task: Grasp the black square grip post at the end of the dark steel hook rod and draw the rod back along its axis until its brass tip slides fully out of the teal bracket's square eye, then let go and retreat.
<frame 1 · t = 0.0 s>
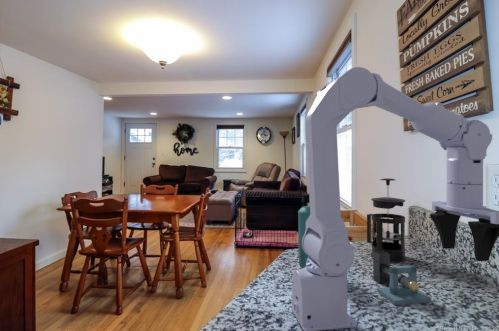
hand: (464, 253, 58), 10 cm above the worktop, tool pointing down, fingers open, 7 cm apart
eye bracket: (403, 296, 62), on the worktop
beverage bottle: (311, 272, 76), on the worktop
hook rod: (395, 275, 64), point 4 cm above the worktop, slide at 0.0 cm
french press: (386, 257, 88), on the worktop
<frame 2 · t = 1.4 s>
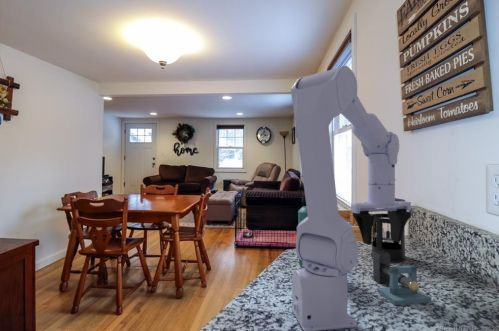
hand: (381, 242, 70), 9 cm above the worktop, tool pointing down, fingers open, 7 cm apart
nothing on the worktop moved.
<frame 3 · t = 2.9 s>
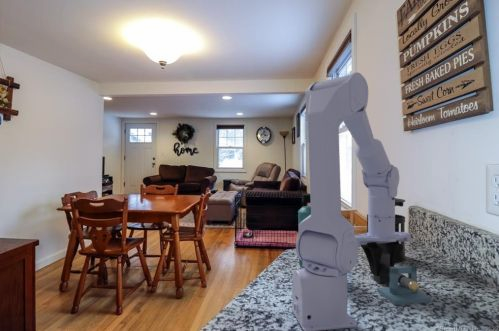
hand: (381, 273, 70), 2 cm above the worktop, tool pointing down, fingers closed on hook rod, 3 cm apart
hook rod: (395, 275, 64), point 4 cm above the worktop, slide at 0.0 cm, touching gripper
everything else where it was.
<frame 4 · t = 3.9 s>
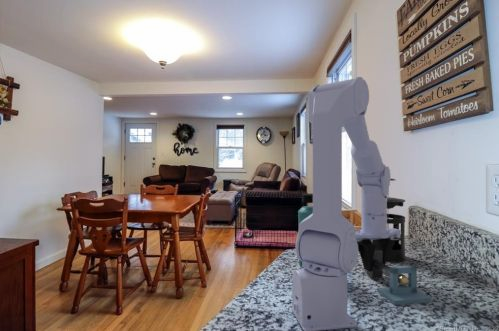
hand: (374, 269, 73), 2 cm above the worktop, tool pointing down, fingers closed on hook rod, 3 cm apart
hook rod: (387, 270, 67), point 3 cm above the worktop, slide at 2.9 cm, touching gripper
everything else where it was.
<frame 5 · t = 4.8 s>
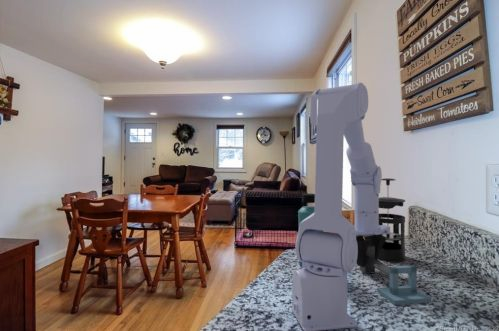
hand: (366, 264, 76), 2 cm above the worktop, tool pointing down, fingers open, 3 cm apart
hook rod: (379, 265, 71), point 4 cm above the worktop, slide at 6.2 cm, touching gripper
everything else where it was.
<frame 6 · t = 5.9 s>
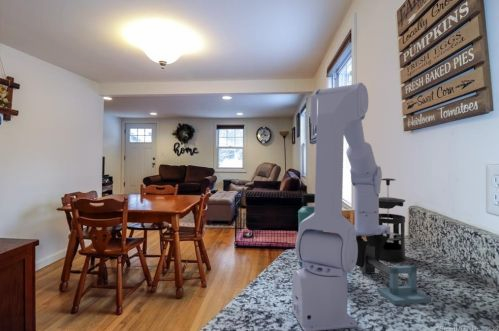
hand: (366, 264, 76), 2 cm above the worktop, tool pointing down, fingers open, 4 cm apart
hook rod: (379, 265, 71), point 3 cm above the worktop, slide at 6.2 cm
everything else where it was.
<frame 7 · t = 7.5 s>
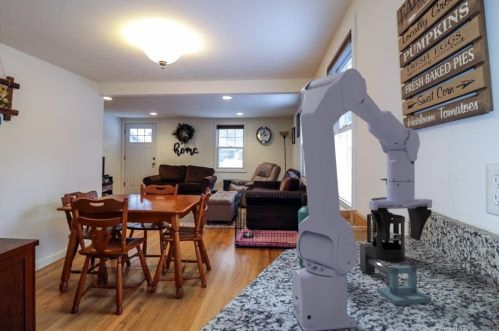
hand: (400, 239, 69), 10 cm above the worktop, tool pointing down, fingers open, 7 cm apart
nothing on the worktop moved.
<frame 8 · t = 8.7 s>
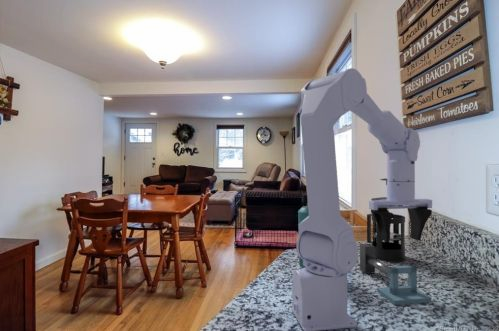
hand: (400, 240, 69), 10 cm above the worktop, tool pointing down, fingers open, 7 cm apart
nothing on the worktop moved.
at the end: hook rod slide at 6.2 cm; the gripper is holding nothing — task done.
